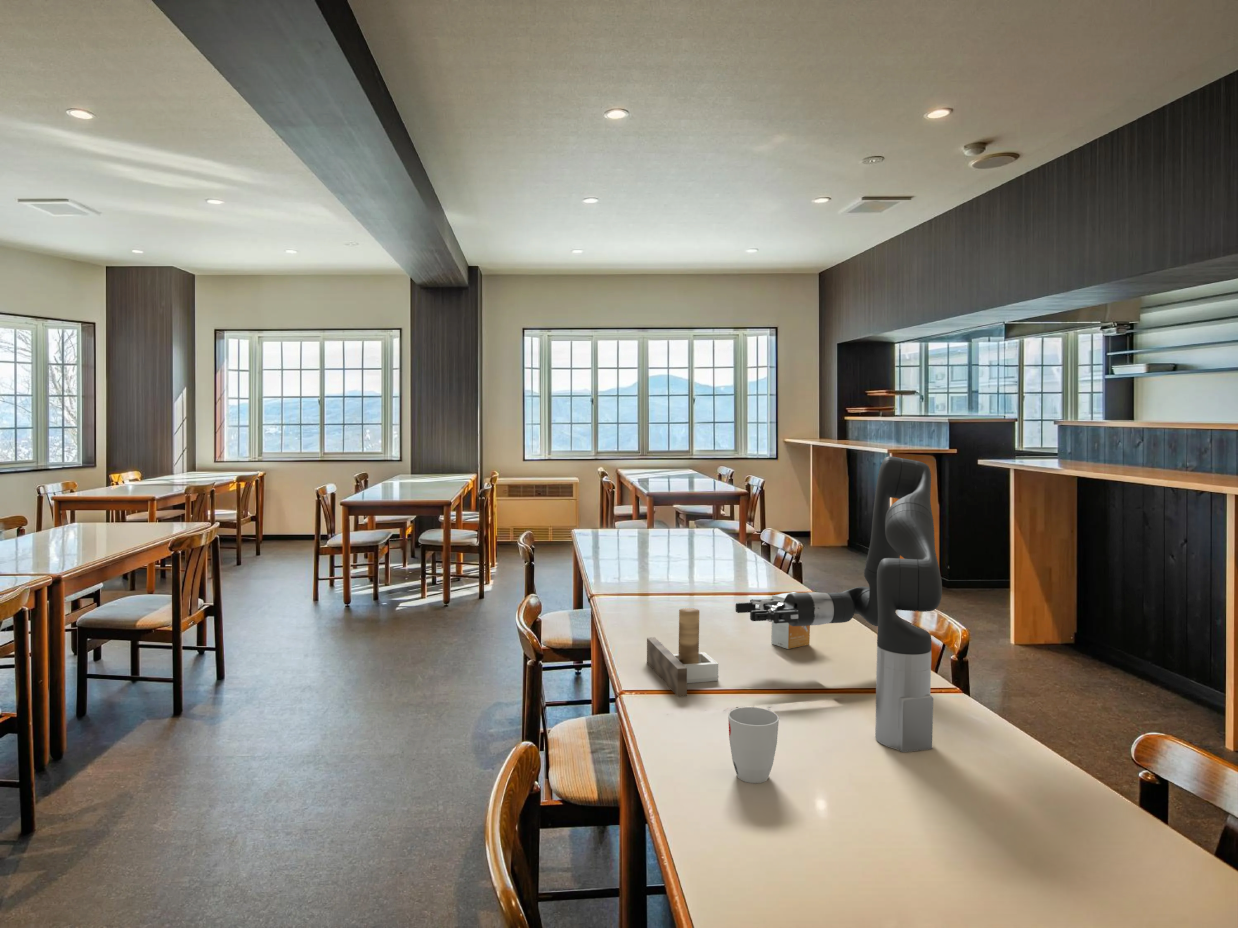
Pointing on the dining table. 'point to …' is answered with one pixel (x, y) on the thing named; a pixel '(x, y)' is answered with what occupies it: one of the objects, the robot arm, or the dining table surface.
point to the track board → (667, 666)
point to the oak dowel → (688, 636)
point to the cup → (753, 742)
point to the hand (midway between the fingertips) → (743, 611)
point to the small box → (789, 631)
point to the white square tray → (702, 669)
